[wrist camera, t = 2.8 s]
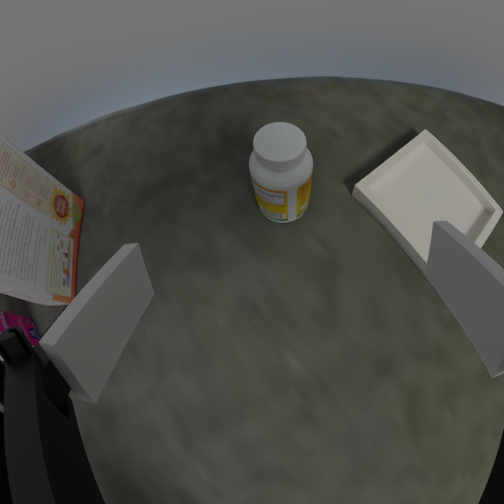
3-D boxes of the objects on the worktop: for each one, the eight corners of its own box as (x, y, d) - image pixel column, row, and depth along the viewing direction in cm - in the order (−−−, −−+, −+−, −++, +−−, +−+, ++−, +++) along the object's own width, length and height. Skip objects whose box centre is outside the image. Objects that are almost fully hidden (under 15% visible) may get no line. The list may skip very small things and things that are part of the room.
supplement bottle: (266, 231, 28) (254, 178, 19) (251, 187, 30) (234, 126, 21) (317, 215, 28) (326, 157, 19) (298, 172, 30) (299, 109, 21)
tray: (420, 138, 29) (425, 129, 28) (494, 218, 25) (503, 211, 23) (351, 194, 28) (354, 185, 26) (439, 295, 24) (448, 291, 22)
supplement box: (48, 351, 27) (-22, 343, 16) (30, 374, 26) (-35, 371, 16) (33, 316, 29) (-32, 299, 18) (15, 340, 28) (-45, 328, 18)
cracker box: (57, 210, 34) (-44, 132, 14) (86, 201, 33) (-20, 107, 13) (45, 307, 29) (-88, 261, 9) (76, 306, 29) (-77, 252, 9)
